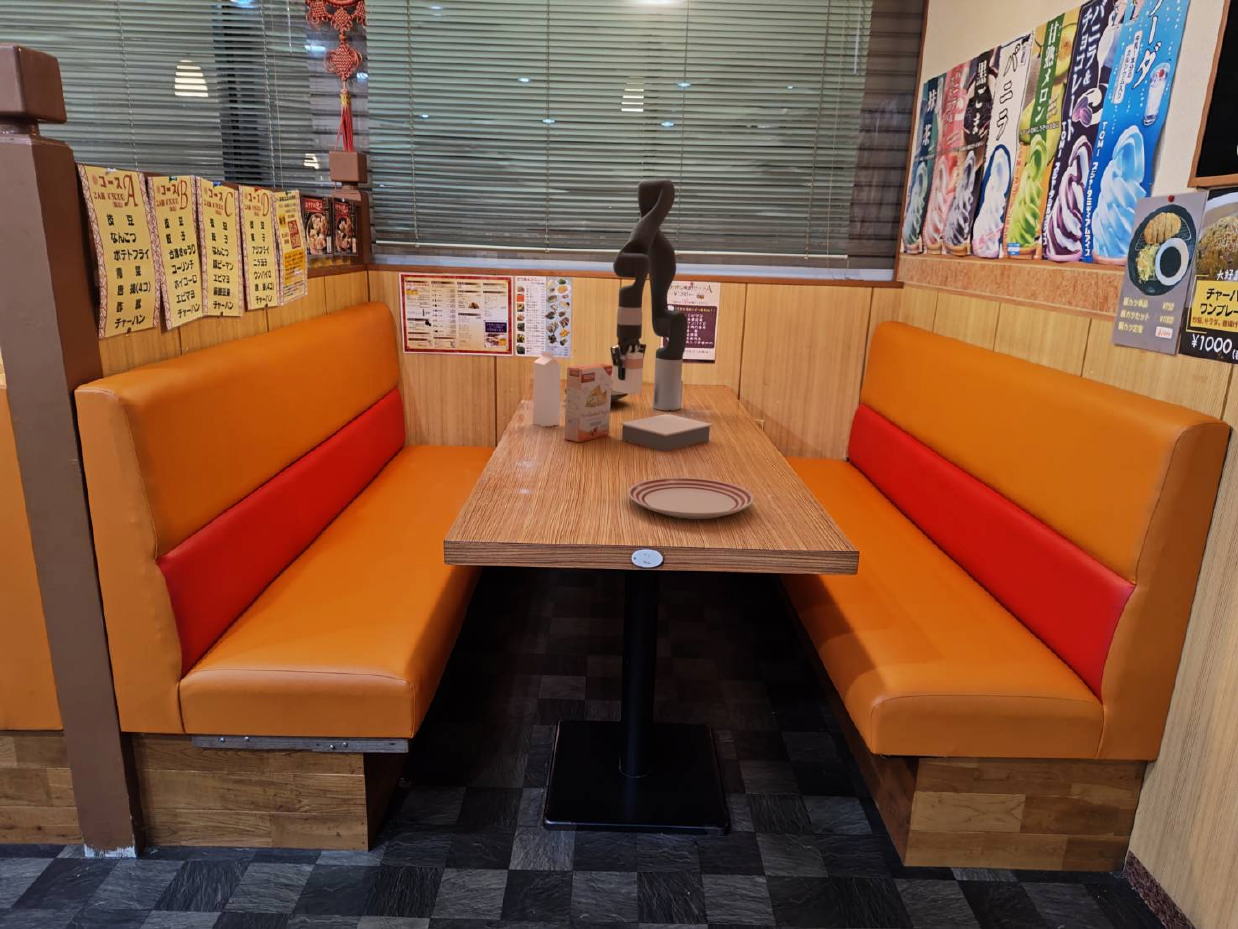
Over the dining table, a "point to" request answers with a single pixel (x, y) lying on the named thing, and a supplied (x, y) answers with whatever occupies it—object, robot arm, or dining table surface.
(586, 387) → the cracker box
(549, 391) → the milk
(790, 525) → the dining table surface
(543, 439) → the dining table surface
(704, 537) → the dining table surface
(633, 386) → the cream carton
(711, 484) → the dinner plate
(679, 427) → the plate
